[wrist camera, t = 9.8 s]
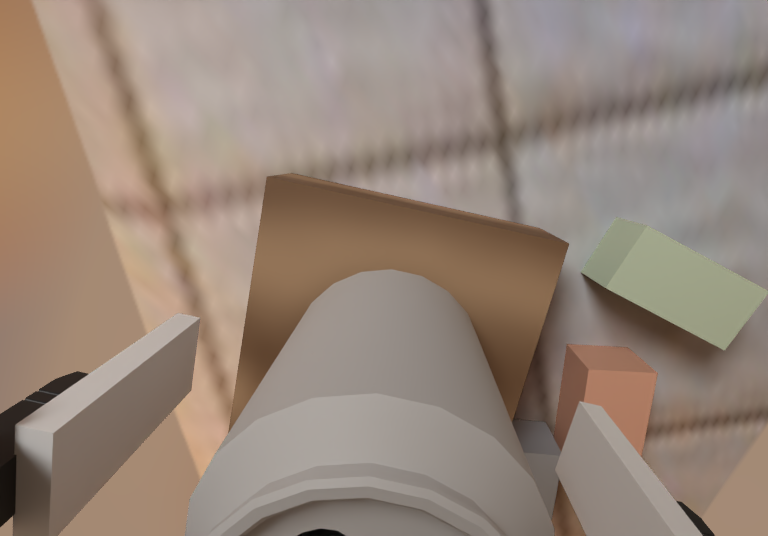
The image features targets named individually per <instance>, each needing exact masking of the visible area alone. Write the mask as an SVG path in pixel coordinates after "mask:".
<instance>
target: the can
mask: <svg viewBox="0 0 768 536" xmlns="http://www.w3.org/2000/svg"><path fill="white" fill-rule="evenodd" d="M185 536H554V527H553V524H552V522H551V519H550V517H549V514H548V512H547V509H546V507H545V504H544V502H543V499H542V497H541V494H540V492H539V489H538V487H537V484H536V482H535V479H534V477H533V474H532V472H531V469H530V467H529V464H528V462H527V459H526V457H525V454H524V452H523V449H522V447H521V444H520V442H519V439H518V437H517V434H516V432H515V429H514V427H513V424H512V422H511V419H510V417H509V414H508V412H507V409H506V407H505V404H504V402H503V399H502V397H501V394H500V392H499V389H498V387H497V384H496V382H495V379H494V377H493V374H492V372H491V369H490V367H489V364H488V362H487V359H486V357H485V354H484V352H483V349H482V347H481V344H480V342H479V339H478V337H477V335H476V332H475V330H474V327H473V325H472V323H471V320H470V318H469V315H468V313H467V312H466V311H465V310H464V309H463V307H462V306H461V305H460V304H459V303H458V302H457V301H456V300H455V299H454V297H453V296H452V295H451V294H450V293H449V292H448V291H447V290H445V289H443V288H442V287H440V286H438V285H436V284H435V283H433V282H431V281H430V280H428V279H426V278H424V277H423V276H420V275H415V274H411V273H406V272H402V271H397V270H393V269H389V270H378V271H366V272H360V273H357V274H355V275H353V276H350V277H348V278H345V279H343V280H341V281H338V282H336V283H334V284H332V285H331V286H330V287H329V288H328V289H327V290H326V291H324V292H323V293H322V294H321V295H320V296H319V297H317V298H316V299H315V300H314V301H313V302H312V303H311V304H310V306H309V308H308V309H307V311H306V312H305V314H304V315H303V317H302V319H301V320H300V322H299V323H298V325H297V326H296V328H295V330H294V331H293V333H292V334H291V336H290V337H289V339H288V341H287V342H286V344H285V345H284V347H283V348H282V350H281V352H280V353H279V355H278V356H277V358H276V359H275V361H274V362H273V364H272V366H271V367H270V369H269V370H268V372H267V373H266V375H265V377H264V378H263V380H262V381H261V383H260V384H259V386H258V388H257V389H256V391H255V392H254V394H253V395H252V397H251V399H250V400H249V402H248V403H247V405H246V406H245V408H244V409H243V411H242V413H241V414H240V416H239V417H238V419H237V420H236V422H235V424H234V425H233V427H232V428H231V430H230V431H229V433H228V435H227V436H226V438H225V439H224V441H223V442H222V444H221V446H220V447H219V449H218V450H217V452H216V453H215V455H214V457H213V459H212V460H211V462H210V464H209V466H208V467H207V469H206V471H205V473H204V474H203V476H202V478H201V480H200V481H199V483H198V485H197V487H196V489H195V490H194V492H193V494H192V496H191V498H190V501H189V508H188V516H187V523H186V531H185Z"/></svg>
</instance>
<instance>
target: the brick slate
mask: <svg viewBox="0 0 768 536" xmlns="http://www.w3.org/2000/svg"><path fill="white" fill-rule="evenodd" d="M512 424H513V427H514V429H515V432H516V434H517V437H518V439H519V442H520V444H521V447H522V449H523V452H524V454H525V457H526V459H527V462H528V464H529V467H530V469H531V472H532V474H533V477H534V479H535V482H536V484H537V487H538V489H539V492H540V494H541V497H542V499H543V502H544V504H545V507H546V509H547V512H548V514H549V517H550V519H551V520H552V515H553V510H554V504H555V499H556V493H557V488H558V482H559V477H558V475H557V473H556V471H555V468H556V465H557V462H558V460H559V457H560V454H561V451H560V449H559V447H558V445H557V443H556V441H555V439H554V437H553V435H552V433H551V432H550V430H549V428H548V426H547V424H546V422H540V421H528V420H516V419H513V421H512Z"/></svg>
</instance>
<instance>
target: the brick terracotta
mask: <svg viewBox="0 0 768 536" xmlns="http://www.w3.org/2000/svg"><path fill="white" fill-rule="evenodd" d="M657 375H658V373H657V372H656V371H655V370H653V369H652V368H651V367H650V366H649V365H648V364H646V363H645V362H644V361H643V360H642V359H641V358H639V357H638V356H637V355H636V354H635V353H634V352H632V351H631V350H630V349H629V348H628V347H611V346H592V345H573V344H567V347H566V354H565V361H564V368H563V375H562V382H561V389H560V396H559V403H558V410H557V417H556V424H555V431H554V439H555V441H556V443H557V445H558V447H559V449H560V451H562V448H563V446H564V443H565V440H566V437H567V434H568V432H569V429H570V426H571V423H572V420H573V418H574V415H575V412H576V409H577V406H578V404H579V401H581V402H585V403H590V404H594V405H599V406H602V408H603V409H604V410H605V411H606V413H607V414H608V415H609V416H610V418H611V419H612V420H613V422H614V423H615V424H616V425H617V427H618V428H619V429H620V430H621V432H622V433H623V434H624V436H625V437H626V438H627V439H628V441H629V442H630V443H631V445H632V446H633V447H634V448H635V450H636V451H637V452H638V453H639V455H640V456H642V451H643V446H644V441H645V436H646V431H647V426H648V421H649V416H650V410H651V405H652V400H653V395H654V390H655V385H656V380H657Z"/></svg>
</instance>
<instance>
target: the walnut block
mask: <svg viewBox="0 0 768 536" xmlns="http://www.w3.org/2000/svg"><path fill="white" fill-rule="evenodd" d="M568 246H569V243H567V242H565V241H563V240H561V239H559V238H557V237H555V236H554V235H552V234H550V233H548V232H546V231H544V230H542V229H540V228H537V227H532V226H528V225H523V224H519V223H514V222H509V221H505V220H500V219H496V218H491V217H487V216H482V215H478V214H473V213H469V212H464V211H460V210H455V209H451V208H446V207H442V206H437V205H433V204H428V203H424V202H419V201H415V200H410V199H406V198H401V197H397V196H392V195H388V194H383V193H379V192H374V191H370V190H365V189H361V188H356V187H352V186H347V185H343V184H338V183H334V182H329V181H325V180H320V179H316V178H311V177H307V176H302V175H298V174H293V173H290V174H283V175H276V176H269V177H267V180H266V186H265V193H264V200H263V206H262V213H261V220H260V226H259V233H258V240H257V246H256V253H255V259H254V266H253V273H252V279H251V286H250V293H249V299H248V306H247V313H246V319H245V326H244V332H243V339H242V346H241V352H240V359H239V366H238V372H237V379H236V386H235V392H234V399H233V405H232V412H231V419H230V425H229V431H230V430H231V428H232V427H233V425H234V424H235V422H236V420H237V419H238V417H239V416H240V414H241V413H242V411H243V409H244V408H245V406H246V405H247V403H248V402H249V400H250V399H251V397H252V395H253V394H254V392H255V391H256V389H257V388H258V386H259V384H260V383H261V381H262V380H263V378H264V377H265V375H266V373H267V372H268V370H269V369H270V367H271V366H272V364H273V362H274V361H275V359H276V358H277V356H278V355H279V353H280V352H281V350H282V348H283V347H284V345H285V344H286V342H287V341H288V339H289V337H290V336H291V334H292V333H293V331H294V330H295V328H296V326H297V325H298V323H299V322H300V320H301V319H302V317H303V315H304V314H305V312H306V311H307V309H308V308H309V306H310V304H311V303H312V302H313V301H314V300H315V299H316V298H317V297H319V296H320V295H321V294H322V293H323V292H324V291H326V290H327V289H328V288H329V287H330V286H331V285H332V284H334V283H336V282H338V281H341V280H343V279H345V278H348V277H350V276H353V275H355V274H357V273H360V272H366V271H378V270H389V269H393V270H397V271H402V272H406V273H411V274H415V275H420V276H423V277H424V278H426V279H428V280H430V281H431V282H433V283H435V284H436V285H438V286H440V287H442V288H443V289H445V290H447V291H448V292H449V293H450V294H451V295H452V296H453V297H454V299H455V300H456V301H457V302H458V303H459V304H460V305H461V306H462V307H463V309H464V310H465V311H466V312H467V313H468V315H469V318H470V320H471V323H472V325H473V327H474V330H475V332H476V335H477V337H478V339H479V342H480V344H481V347H482V349H483V352H484V354H485V357H486V359H487V362H488V364H489V367H490V369H491V372H492V374H493V377H494V379H495V382H496V384H497V387H498V389H499V392H500V394H501V397H502V399H503V402H504V404H505V407H506V409H507V412H508V414H509V417H510V419H511V422H512V421H513V418H514V415H515V412H516V408H517V405H518V402H519V399H520V396H521V393H522V390H523V387H524V383H525V380H526V377H527V374H528V371H529V368H530V365H531V362H532V358H533V355H534V352H535V349H536V346H537V343H538V340H539V337H540V333H541V330H542V327H543V324H544V321H545V318H546V315H547V312H548V309H549V305H550V302H551V299H552V296H553V293H554V290H555V287H556V284H557V280H558V277H559V274H560V271H561V268H562V265H563V262H564V259H565V255H566V252H567V249H568ZM228 433H229V432H228Z"/></svg>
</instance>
